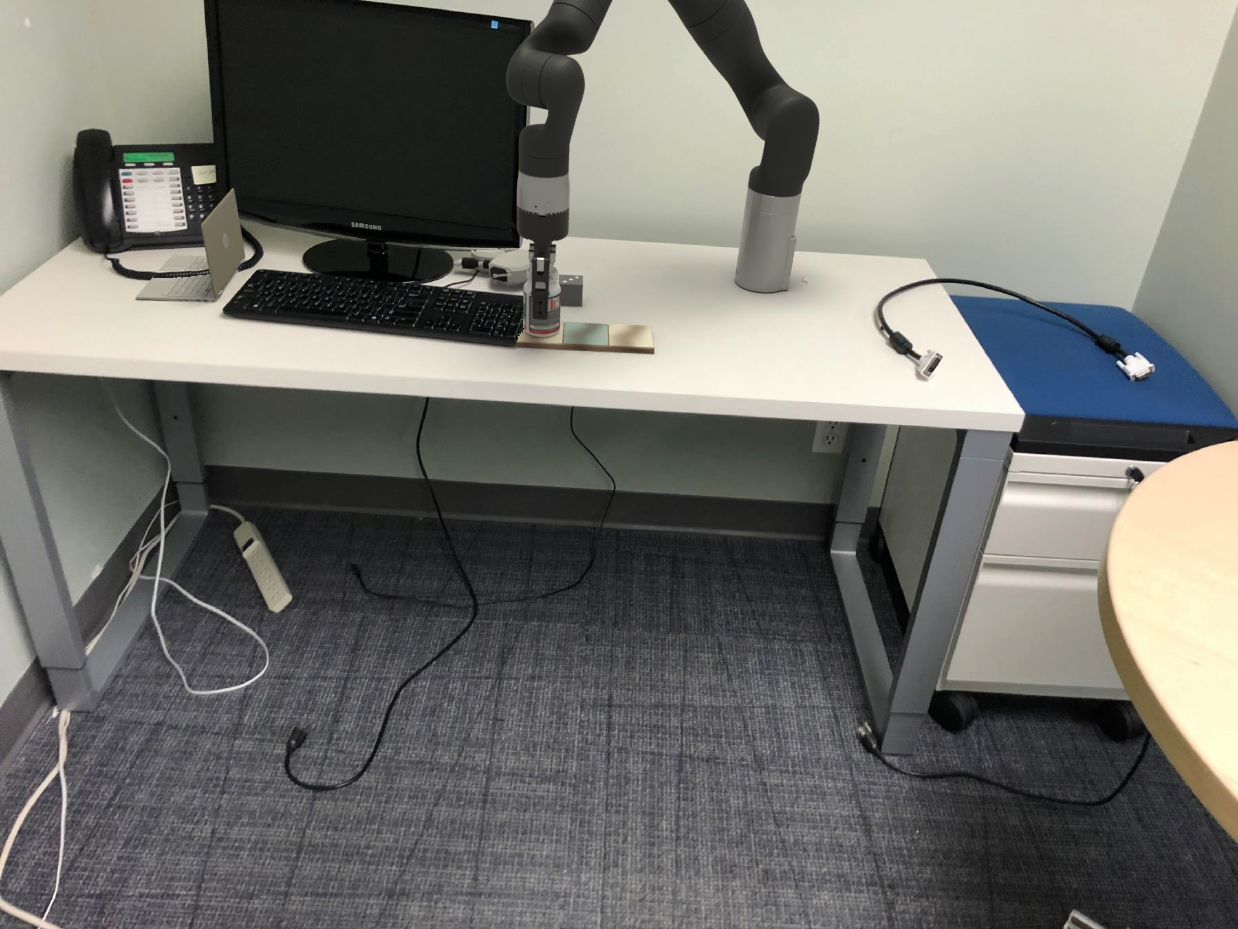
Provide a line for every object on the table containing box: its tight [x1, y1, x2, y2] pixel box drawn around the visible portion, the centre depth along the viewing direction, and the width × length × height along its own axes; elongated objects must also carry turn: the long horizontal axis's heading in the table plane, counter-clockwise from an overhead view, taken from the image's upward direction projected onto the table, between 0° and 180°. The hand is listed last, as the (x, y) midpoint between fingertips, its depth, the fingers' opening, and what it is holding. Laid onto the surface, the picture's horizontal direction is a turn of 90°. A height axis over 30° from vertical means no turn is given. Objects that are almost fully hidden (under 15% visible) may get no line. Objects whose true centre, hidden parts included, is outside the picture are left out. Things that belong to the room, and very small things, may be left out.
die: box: [558, 273, 584, 308], centre depth 157 cm, size 4×4×4 cm
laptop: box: [135, 187, 246, 303], centre depth 152 cm, size 18×12×13 cm
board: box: [516, 321, 655, 355], centre depth 146 cm, size 21×8×1 cm, turn 92°
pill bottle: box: [522, 265, 562, 337], centre depth 143 cm, size 6×6×10 cm
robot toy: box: [453, 248, 557, 287], centre depth 164 cm, size 12×4×15 cm
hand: (541, 306), depth 143 cm, fingers open, 8 cm apart
